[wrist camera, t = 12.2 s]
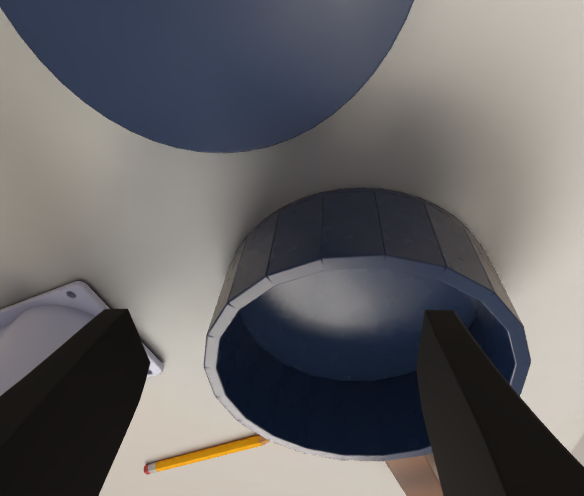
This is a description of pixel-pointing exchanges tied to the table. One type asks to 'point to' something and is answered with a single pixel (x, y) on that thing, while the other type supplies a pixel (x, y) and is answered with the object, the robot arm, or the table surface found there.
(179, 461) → the pencil
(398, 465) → the stick
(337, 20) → the tin lid
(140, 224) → the table surface
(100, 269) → the table surface
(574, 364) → the table surface
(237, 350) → the tin
